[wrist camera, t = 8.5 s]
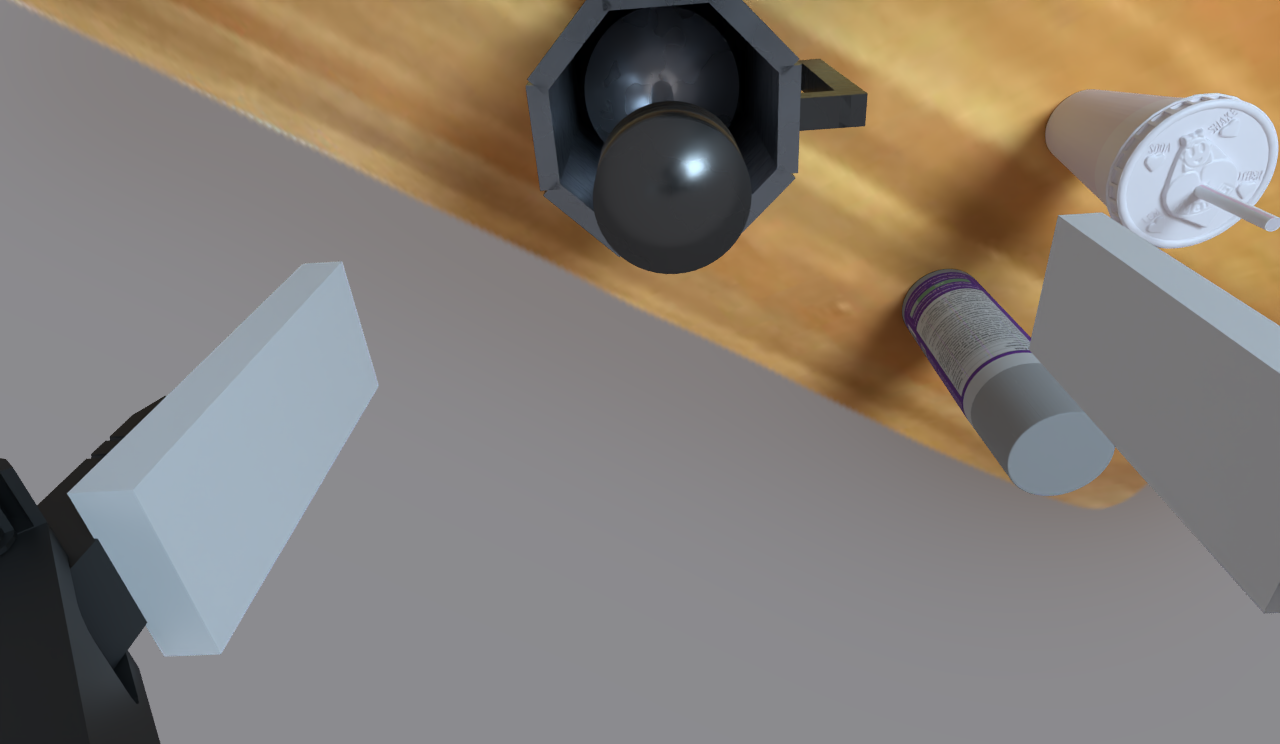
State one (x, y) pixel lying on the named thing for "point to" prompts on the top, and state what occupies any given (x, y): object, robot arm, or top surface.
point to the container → (1004, 386)
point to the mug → (758, 126)
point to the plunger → (667, 140)
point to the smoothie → (1168, 160)
